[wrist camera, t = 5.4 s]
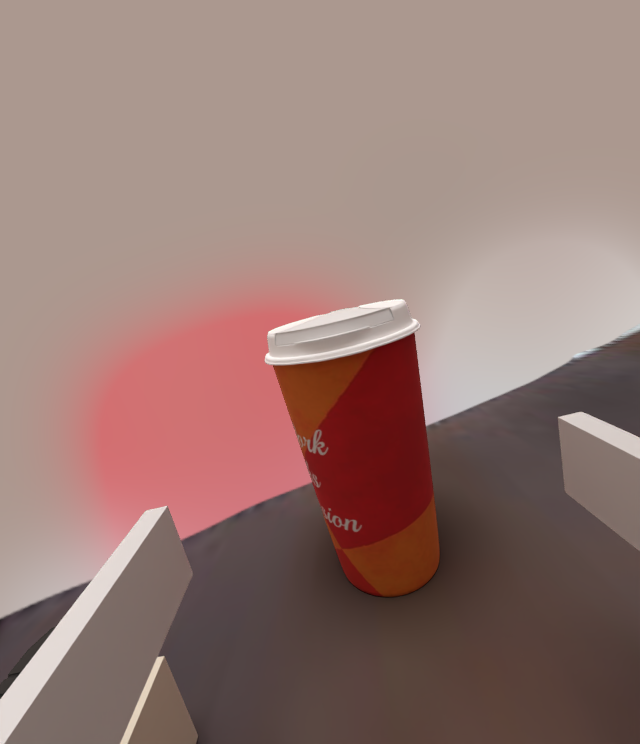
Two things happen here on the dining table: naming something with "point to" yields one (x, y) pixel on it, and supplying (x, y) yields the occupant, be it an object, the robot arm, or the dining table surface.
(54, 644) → the robot arm
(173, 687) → the tray
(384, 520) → the paper cup
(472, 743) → the dining table surface
